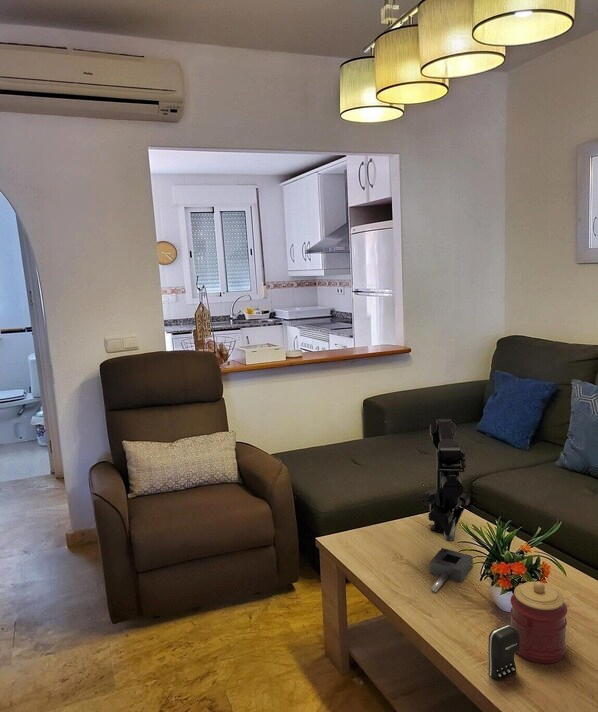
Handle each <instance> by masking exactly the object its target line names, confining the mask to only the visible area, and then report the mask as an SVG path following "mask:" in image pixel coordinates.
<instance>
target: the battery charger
mask: <svg viewBox="0 0 598 712" xmlns="http://www.w3.org/2000/svg"><path fill="white" fill-rule="evenodd" d="M519 649H520V638H519V633H518V632H517V631H516V630H515V629H513V628H512V627H511V624H510V625H509V624H504V625H500V626H499V627H496V628H495V629H493V630H491V631H490V633H489V635H488V675H489V676H490V677H491V678H493V679H495V680H497V681H502V680H504V679H506V678H509V677H511V676H513V675H515V674H516V673H517V666H516V662H515V661H516V660H515V654H517V652H518V651H519Z"/></svg>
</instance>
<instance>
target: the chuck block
mask: <svg viewBox="0 0 598 712" xmlns="http://www.w3.org/2000/svg"><path fill="white" fill-rule="evenodd" d="M473 558H474V557H473V555H470V554H466V553H462V552H458V551H455V550H451V549H447V548H444V547H441V549H440V550H438V552H437V553H436V554H435V555H434V556H433V558H431V560H430V561H429V574H430V575H433V576H437V577H439V578H438V579H437V580H436V581H435V583H433V585H432V586H431V587H430V591H431V592H432V593H435V594H436V593H437V592H438V590H439V589H440V588H441V587H442V586H443V584H444V583H445V581H447V580H450V581H453V582H457V583H460V584H461V583H462V582H463V581H464V580H465V579H466V578H467V576H468V575H469V573H470V572H471V571H472V570H473V568H474V567H473V566H474V565H471V564H472V563H473ZM473 564H474V563H473Z"/></svg>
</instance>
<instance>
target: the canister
mask: <svg viewBox="0 0 598 712" xmlns="http://www.w3.org/2000/svg"><path fill="white" fill-rule="evenodd" d="M509 601H510V604H511V606H512V607H511V608H510V626H511V627H512V628H513V629H515V630H516V631H517V632H518V633H519V638H520V649H519V651H518V652H516V654H517V655H519V656H520V657H522V658H524V659H525V660H528V661H531V662H532V663H538V664H554V663H557V662H559V661H560V660H562V659H563V658H564V656H565V654H566V650H567V642H566V635H567V633H566V632H567V625H568V621H567V617H566V616H567V614H568V606H567V604H566V603H565V598H564V596H563V594H562V593H561V592H560V591H559V590H557V589H556V588H554V587H553V586H552V585H549V584H547V583H545V582H542V581H538V580H537V581H528V582H527V581H526V582H524V583H520V584H519V585H517V586H516V587H515V588H514V591H513V594H512V595H511V597H510V600H509Z"/></svg>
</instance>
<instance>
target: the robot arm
mask: <svg viewBox="0 0 598 712" xmlns="http://www.w3.org/2000/svg"><path fill="white" fill-rule="evenodd" d="M456 424H457V423H455V422H453V419H450V418H438V419H436V420H435V421H433V422H432V423H430V425H429V437H431V440H432V444H433V446H434V447H435V448H436V449H435V451H436V453H435V455H436V457H435V458H436V469H435V470H436V474H435V475H436V478H435V479H436V485H435V487H434V488H433V489H431V490H427V491H425V492H423V493H422V494H421V496H420V502H421V503H422V504H423V505H424V506H428V505H429V512H428V518H427V519H428V521H430V522H433V525H432V526H431V527H430V529H429V530H430V531H432V532H437V533H441V534H444V532H445V535H446V536H449V535H450V533H451V530H452V527H453V525H454V522H455V528H456V527H457V525H458V523H459V520H460V519H461V517H462V515H463V513H464V511H465V507H462V506H461V505H462V503H463V505H464V506H466V507H467V506H468V505H469V504H470V502H471V501H470V499H471V498H470V496H469V495H468V494H467V493H464V487H463V486H464V485H463V483H462V479H461V477H460V473H465V468H467V464H466V455H465V452H464V450H463V448H461V445H460V443H459V442H458V441H456V440H455V438H456V436H457V425H456ZM453 514H454V515H455V517H454V516H453Z"/></svg>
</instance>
